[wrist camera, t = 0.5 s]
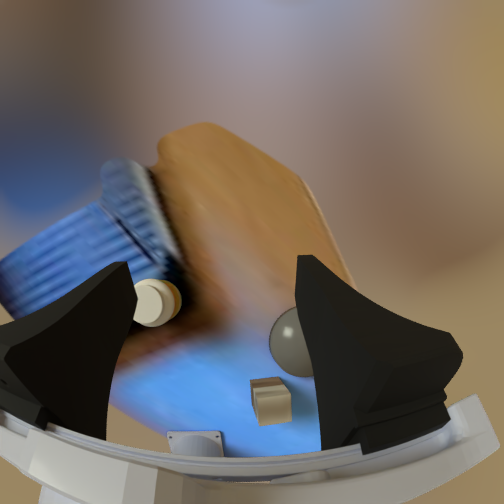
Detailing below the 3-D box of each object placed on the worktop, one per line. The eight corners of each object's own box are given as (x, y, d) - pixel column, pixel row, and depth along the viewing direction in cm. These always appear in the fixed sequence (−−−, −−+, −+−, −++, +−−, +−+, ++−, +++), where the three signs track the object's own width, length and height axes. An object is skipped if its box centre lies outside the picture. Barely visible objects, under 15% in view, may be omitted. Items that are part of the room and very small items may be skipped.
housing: (279, 400, 35) (291, 421, 28) (251, 404, 34) (259, 426, 28) (278, 376, 35) (290, 393, 29) (249, 379, 35) (257, 398, 28)
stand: (336, 366, 37) (341, 369, 35) (271, 377, 35) (274, 382, 33) (334, 301, 38) (339, 302, 36) (266, 308, 36) (269, 310, 34)
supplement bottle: (176, 275, 36) (161, 271, 26) (186, 314, 35) (176, 324, 25) (139, 285, 35) (114, 284, 25) (149, 323, 34) (127, 335, 25)
